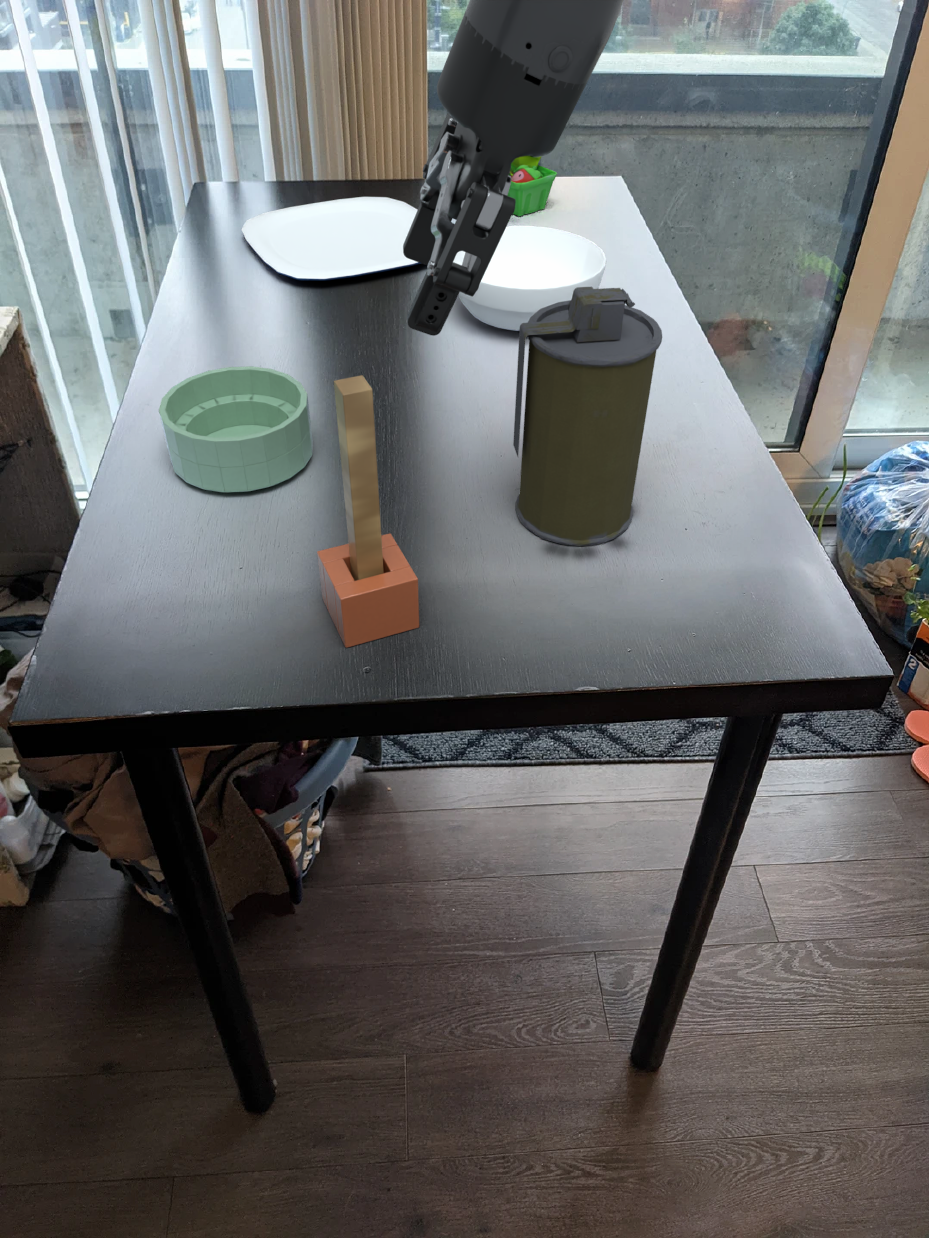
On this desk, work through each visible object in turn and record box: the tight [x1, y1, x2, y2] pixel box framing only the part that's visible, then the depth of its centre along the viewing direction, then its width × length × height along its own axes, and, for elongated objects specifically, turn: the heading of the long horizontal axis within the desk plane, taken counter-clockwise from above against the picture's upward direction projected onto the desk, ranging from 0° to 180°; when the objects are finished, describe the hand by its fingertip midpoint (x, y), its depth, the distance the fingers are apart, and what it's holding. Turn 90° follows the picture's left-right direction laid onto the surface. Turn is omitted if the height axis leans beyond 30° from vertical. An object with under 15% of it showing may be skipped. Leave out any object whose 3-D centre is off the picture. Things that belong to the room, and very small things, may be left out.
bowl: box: [453, 225, 607, 332], centre depth 111 cm, size 18×18×7 cm
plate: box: [241, 196, 422, 282], centre depth 128 cm, size 25×25×2 cm
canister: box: [512, 287, 663, 547], centre depth 78 cm, size 11×10×20 cm
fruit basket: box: [507, 156, 558, 217], centre depth 137 cm, size 11×9×11 cm
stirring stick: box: [333, 375, 384, 581], centre depth 68 cm, size 2×2×20 cm
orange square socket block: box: [316, 532, 420, 649], centre depth 73 cm, size 6×6×5 cm
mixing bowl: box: [158, 365, 314, 493], centre depth 88 cm, size 13×13×6 cm
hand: (418, 292), depth 62 cm, fingers open, 8 cm apart
